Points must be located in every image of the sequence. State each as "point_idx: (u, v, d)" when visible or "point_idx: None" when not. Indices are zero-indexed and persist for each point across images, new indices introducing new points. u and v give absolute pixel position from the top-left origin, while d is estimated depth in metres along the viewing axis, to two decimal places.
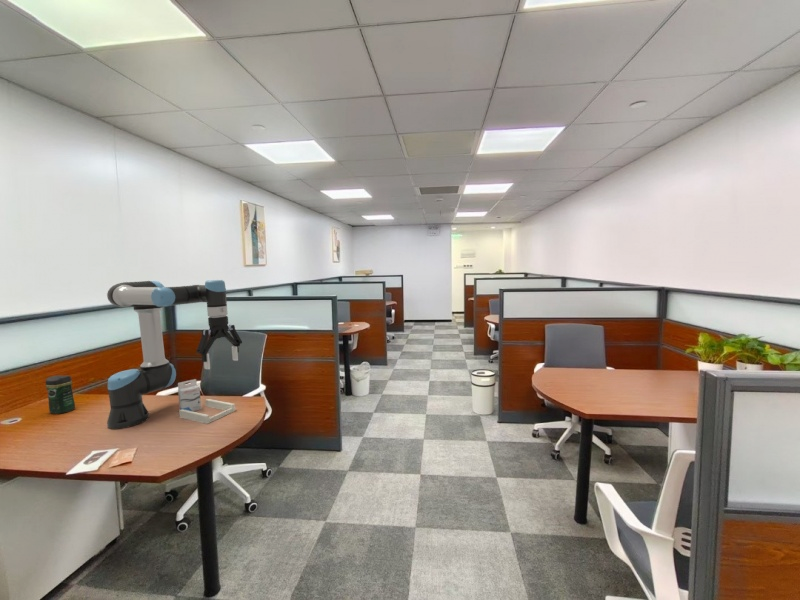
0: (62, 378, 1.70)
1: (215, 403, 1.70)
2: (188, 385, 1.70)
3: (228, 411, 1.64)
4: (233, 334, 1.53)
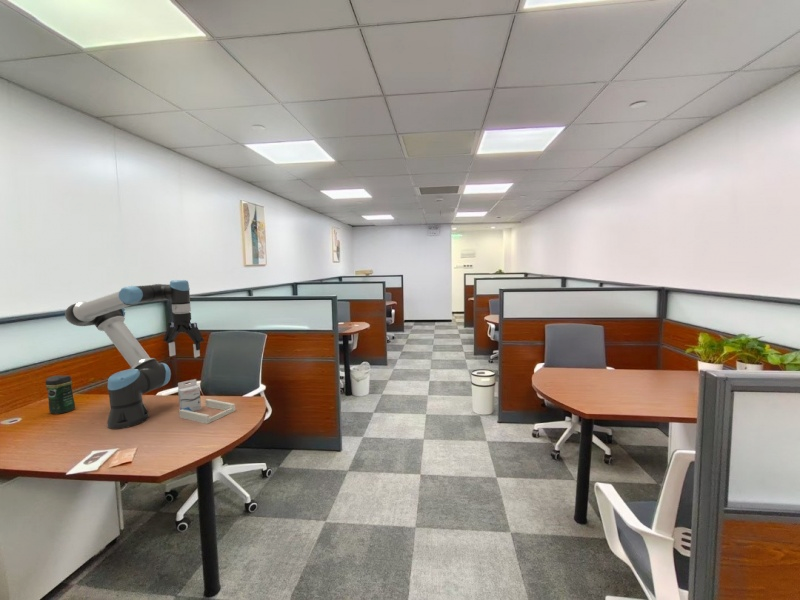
0: (62, 378, 1.70)
1: (215, 403, 1.70)
2: (188, 385, 1.70)
3: (228, 411, 1.64)
4: None
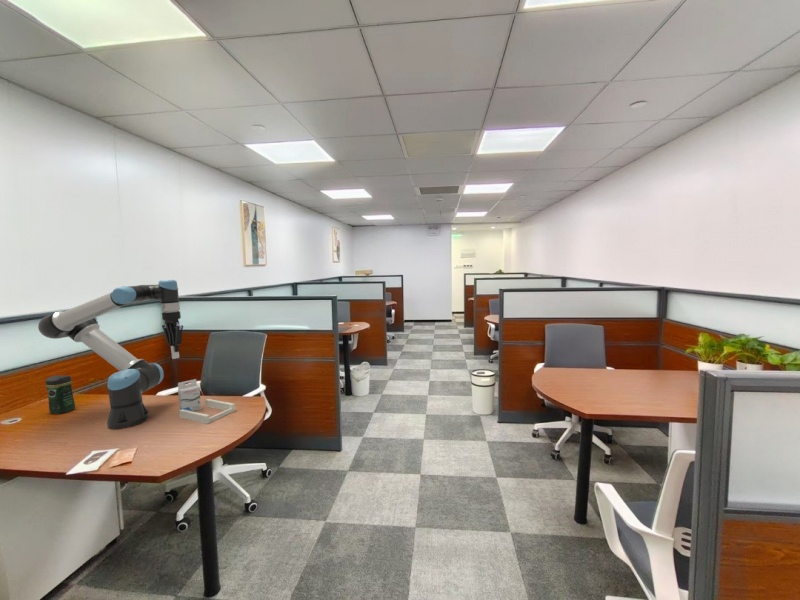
0: (62, 378, 1.70)
1: (215, 403, 1.70)
2: (188, 385, 1.70)
3: (228, 411, 1.64)
4: None
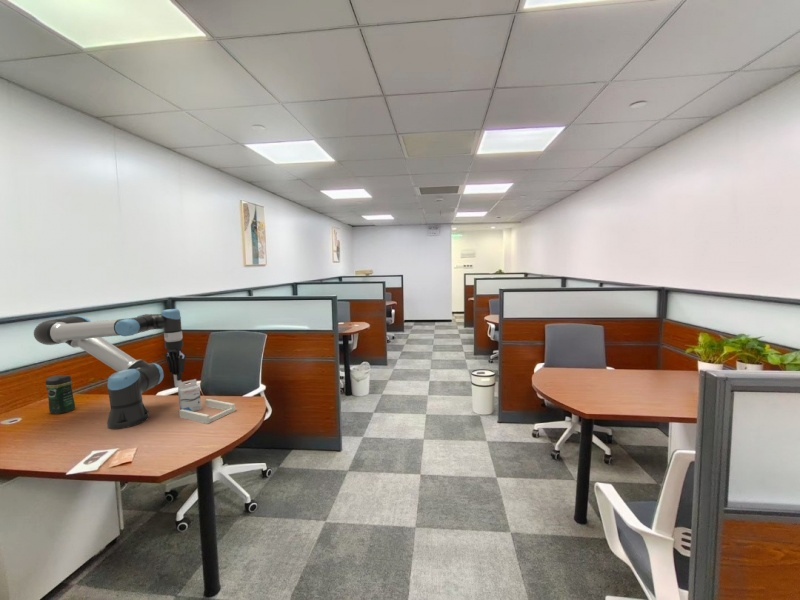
0: (62, 378, 1.70)
1: (215, 403, 1.70)
2: (188, 385, 1.70)
3: (228, 411, 1.64)
4: None
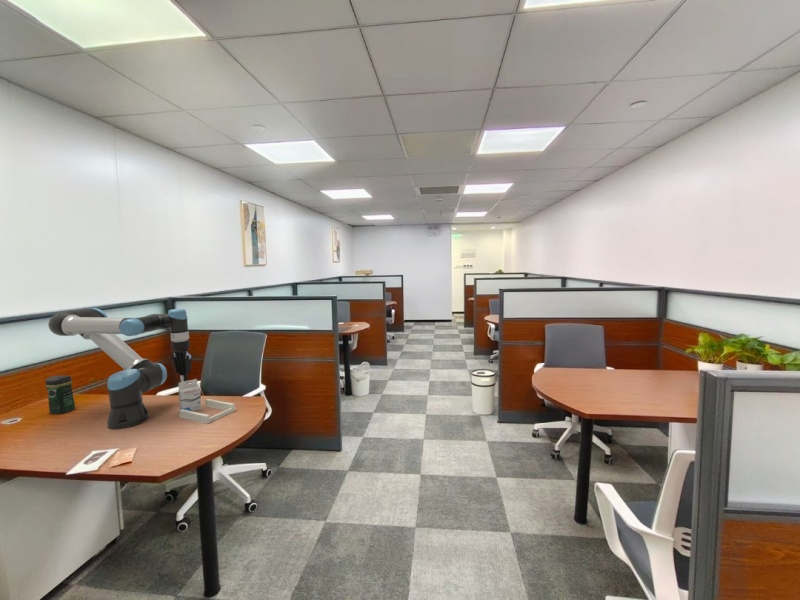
0: (62, 378, 1.70)
1: (215, 403, 1.70)
2: (189, 385, 1.69)
3: (228, 411, 1.64)
4: None
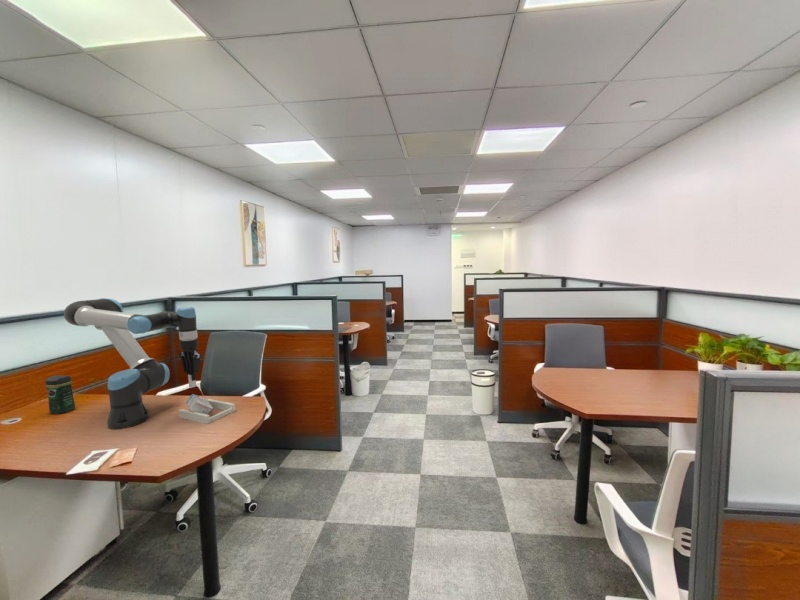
0: (62, 378, 1.70)
1: (215, 403, 1.70)
2: (205, 404, 1.61)
3: (228, 411, 1.64)
4: None
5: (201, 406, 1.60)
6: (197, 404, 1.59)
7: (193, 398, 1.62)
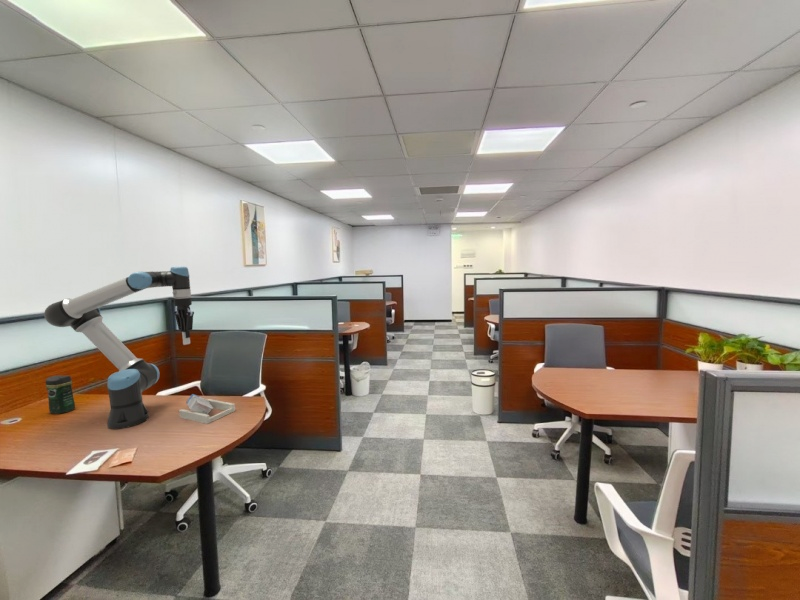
0: (62, 378, 1.70)
1: (215, 403, 1.70)
2: (205, 404, 1.61)
3: (228, 411, 1.64)
4: None
5: (201, 406, 1.60)
6: (197, 404, 1.59)
7: (193, 398, 1.62)
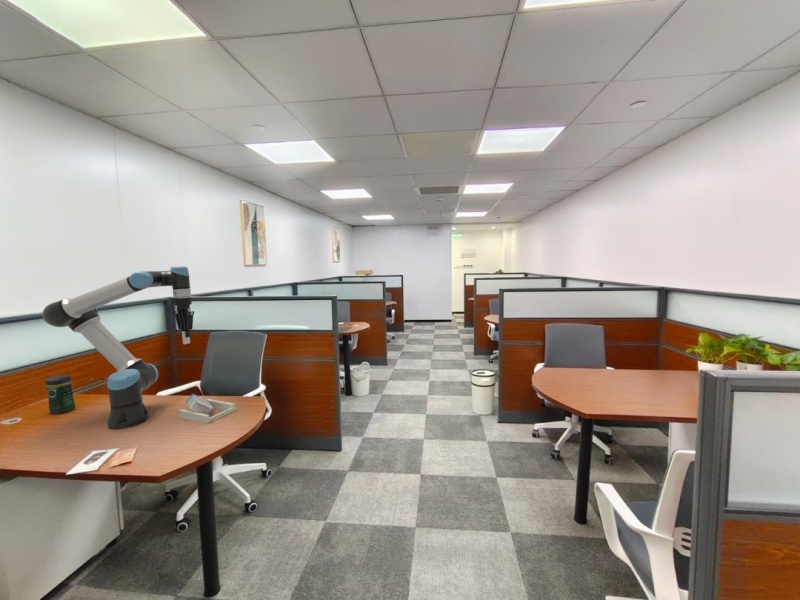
0: (62, 378, 1.70)
1: (215, 403, 1.70)
2: (205, 404, 1.61)
3: (228, 411, 1.64)
4: None
5: (201, 406, 1.60)
6: (197, 404, 1.59)
7: (193, 398, 1.62)
